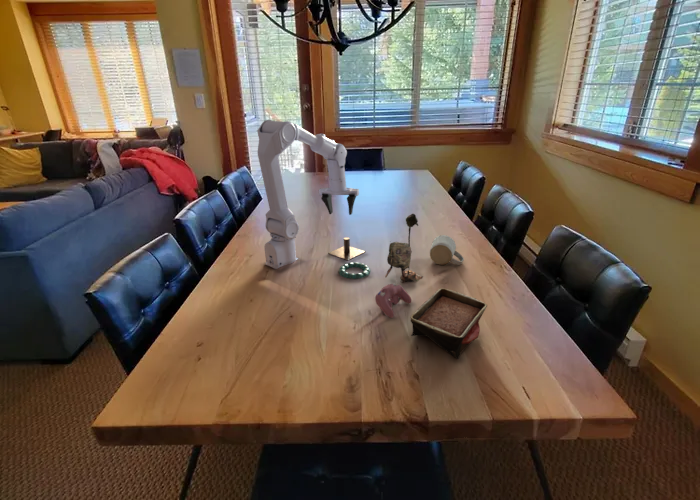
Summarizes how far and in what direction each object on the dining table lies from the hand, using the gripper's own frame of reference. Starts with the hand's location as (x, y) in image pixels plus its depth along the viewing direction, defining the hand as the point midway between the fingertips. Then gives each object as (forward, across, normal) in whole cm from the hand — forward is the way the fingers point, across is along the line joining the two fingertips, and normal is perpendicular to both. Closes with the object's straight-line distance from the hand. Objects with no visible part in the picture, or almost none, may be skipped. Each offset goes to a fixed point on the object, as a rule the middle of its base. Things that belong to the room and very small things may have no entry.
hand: (340, 213), depth 138 cm
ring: (+7, -12, +29) cm, 32 cm away
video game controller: (+7, -26, +45) cm, 52 cm away
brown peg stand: (+9, -6, +16) cm, 19 cm away
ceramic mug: (+10, -38, +13) cm, 42 cm away
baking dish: (+7, -40, +53) cm, 67 cm away
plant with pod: (+8, -27, +29) cm, 41 cm away
